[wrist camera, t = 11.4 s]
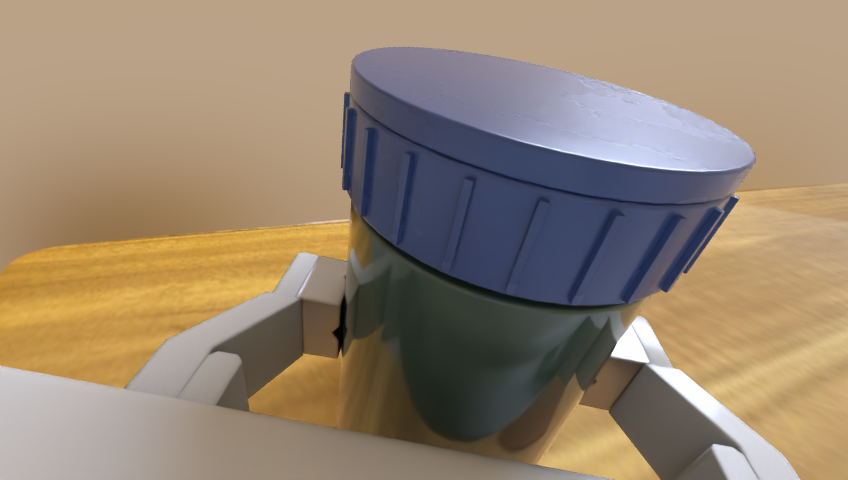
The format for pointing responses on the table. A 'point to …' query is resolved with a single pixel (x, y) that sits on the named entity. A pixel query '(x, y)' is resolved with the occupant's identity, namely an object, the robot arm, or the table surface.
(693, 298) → the table surface
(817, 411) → the table surface
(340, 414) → the jar
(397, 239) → the lid
